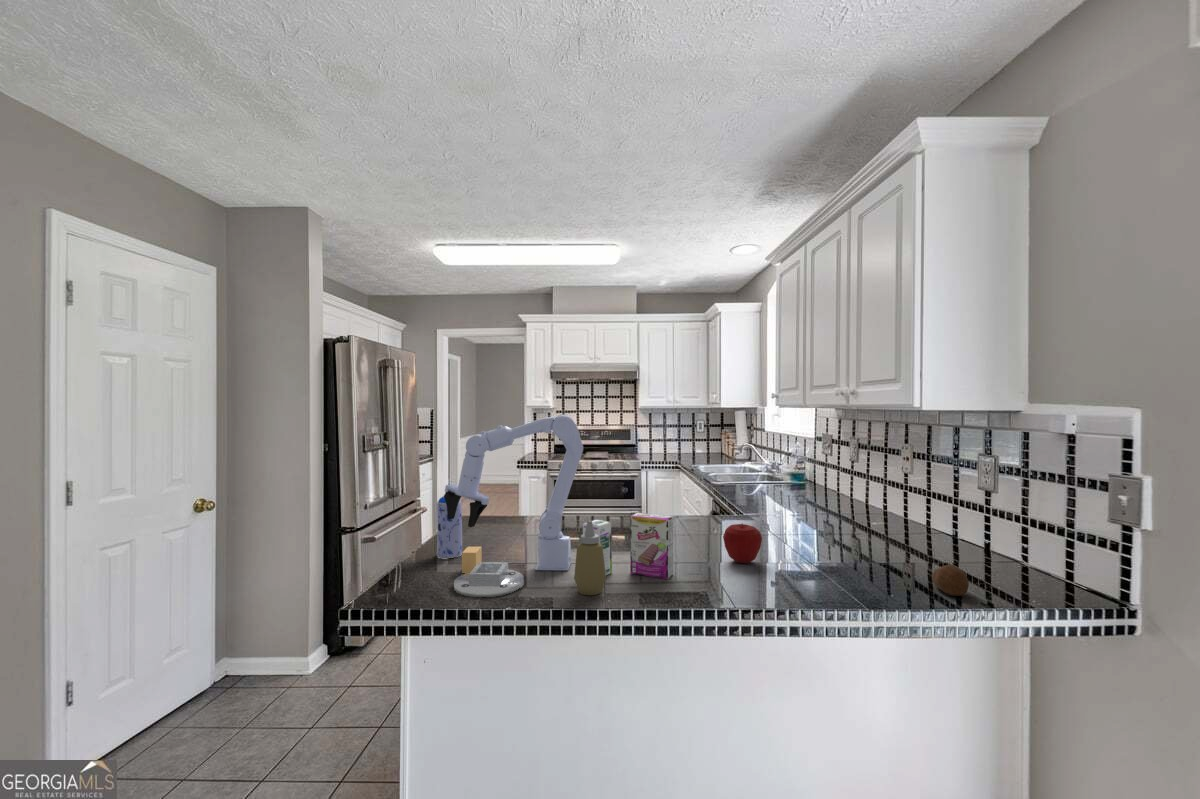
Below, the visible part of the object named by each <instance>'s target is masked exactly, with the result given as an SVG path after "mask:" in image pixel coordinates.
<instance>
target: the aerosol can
mask: <svg viewBox="0 0 1200 799" xmlns="http://www.w3.org/2000/svg"><path fill="white" fill-rule="evenodd" d="M447 493H448V492H445V493H444V494H447ZM462 506H463V503H462V500H461V499H460V500H459V503H458V506H457V509H456V513H455V517H454V519H448V518H447V505H446V501H445V498H444V495H443V496H442V497H440V498H439V499H438V500H437V503H436V528H437V530H436V533H437V535H436V536H437V539H436V540H437V554H436V557H437V558H438V557H440V558H453V557H458V556H461V555H462V552H463V512H462V511H463V508H462ZM461 557H462V556H461ZM440 558H439V559H440ZM458 558H459V557H458Z"/></svg>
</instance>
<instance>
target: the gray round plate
mask: <svg viewBox="0 0 1200 799" xmlns="http://www.w3.org/2000/svg"><path fill="white" fill-rule="evenodd" d="M524 580H525V579H524V575H523V574H522V573H521V572H519V571H517V570H513V569H509V562H505V561H504V562H500V561H499V562H497V561H496V562H495V561H493V562H492V561H491V562H490V561H488V562H487V561H485V562H484V561H482V562H479V563H478V564H477V565H476V566H475V567H474V569H473V570H472V571H471V572H468V573H465V574H461V575H459V576H457V577H456V578H455V579H454V581H453V590H454V591H456V593H457V594H458V593H459V594H458V595H460V594H461V595H460V596H463V595H464V596H463V597H467V596H469V597H468V598H475V597H487V598H497V597H501V596H505V595H506V594H507V595H509V593H510V594H513V593H515V592H517V591H518V589H519V588H520V589H521V588H523V586H524V584H525V581H524ZM520 589H519V590H520ZM516 590H517V591H516ZM514 591H515V592H514ZM512 592H513V593H512ZM496 596H497V597H496Z"/></svg>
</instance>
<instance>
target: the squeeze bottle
mask: <svg viewBox="0 0 1200 799" xmlns="http://www.w3.org/2000/svg"><path fill="white" fill-rule="evenodd" d="M592 521H593V520H587V521H586V523H587V526H586V531H585V534H583V533H582V534H581V535H580V543H578V545H576V552H575V554H576V555H575V565H574V566H575V567H574V575H573V576H574V581H575V585H576V588H577V591H578V592H579V594H581V595H584V596H596V595H599V594H601V593H602V591H603V588H604V585H605V583H606V582H605V581H606V578H607V575H606V572H605V563H604V554H603V546H602V545H601V544H600V543H598V542H599V535H597V534H595V533H594V528H593V524H592Z"/></svg>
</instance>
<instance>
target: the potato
mask: <svg viewBox="0 0 1200 799" xmlns="http://www.w3.org/2000/svg"><path fill="white" fill-rule="evenodd" d="M931 581H932V583H933V584H934V586H936V588H938V589H939V590H940V591H942V592H943V593H944V594H946V595H949V596H953V597H959V596H961V597H962V596H964V595H965V594H967V592H968V590H969V586H970V585H969V579H968V577H967V574H966V573H965V572H964V571H963V570H962V569H961V568H960V567H958V566H957V565H953V564H946V565H943V566H940V567H938V568H936V569H935V570H934V571H933V572H932V574H931Z"/></svg>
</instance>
